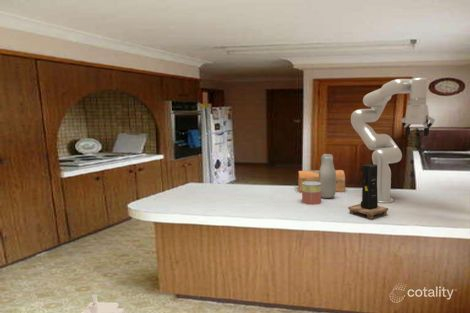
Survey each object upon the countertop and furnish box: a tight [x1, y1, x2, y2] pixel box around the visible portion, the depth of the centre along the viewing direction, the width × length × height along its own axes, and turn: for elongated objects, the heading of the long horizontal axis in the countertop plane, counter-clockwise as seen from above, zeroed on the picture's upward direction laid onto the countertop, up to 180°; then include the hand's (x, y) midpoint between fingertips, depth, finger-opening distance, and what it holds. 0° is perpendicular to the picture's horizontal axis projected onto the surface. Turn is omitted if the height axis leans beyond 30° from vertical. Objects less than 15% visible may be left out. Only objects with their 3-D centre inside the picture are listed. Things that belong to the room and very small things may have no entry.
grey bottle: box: [318, 153, 337, 199], centre depth 207 cm, size 10×10×28 cm
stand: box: [347, 203, 389, 221], centre depth 175 cm, size 14×14×4 cm
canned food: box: [301, 181, 322, 206], centre depth 199 cm, size 11×11×12 cm
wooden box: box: [297, 169, 346, 193], centre depth 229 cm, size 30×16×14 cm, turn 83°
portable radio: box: [360, 162, 379, 209], centre depth 173 cm, size 8×6×25 cm
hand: (416, 135), depth 174 cm, fingers open, 9 cm apart
